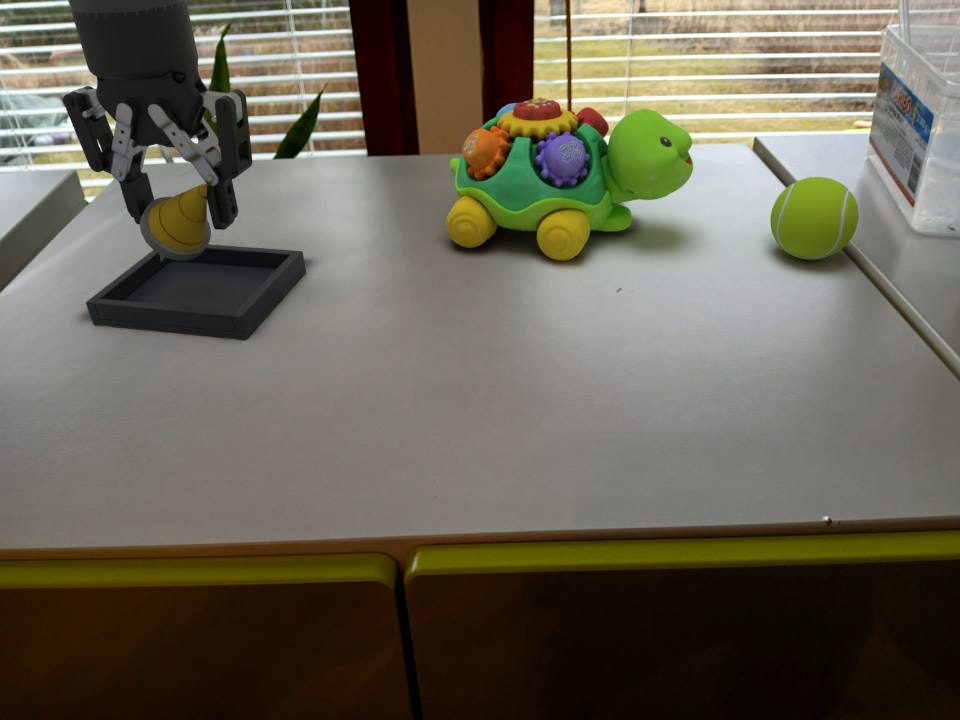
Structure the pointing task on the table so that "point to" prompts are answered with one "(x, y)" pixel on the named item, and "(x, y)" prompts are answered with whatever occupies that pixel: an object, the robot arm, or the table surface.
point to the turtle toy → (562, 173)
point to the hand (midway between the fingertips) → (185, 222)
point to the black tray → (200, 291)
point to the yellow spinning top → (177, 225)
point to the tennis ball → (814, 218)
